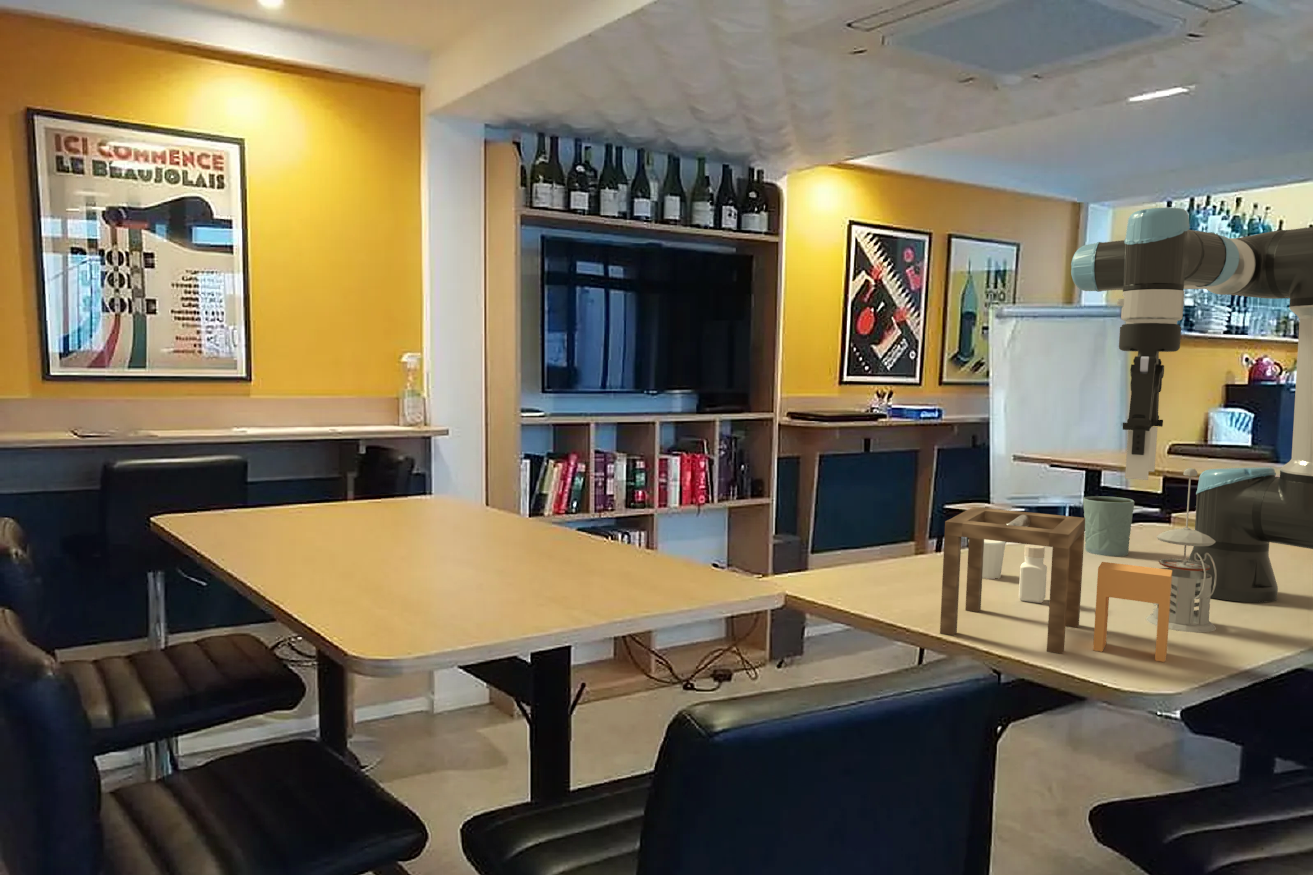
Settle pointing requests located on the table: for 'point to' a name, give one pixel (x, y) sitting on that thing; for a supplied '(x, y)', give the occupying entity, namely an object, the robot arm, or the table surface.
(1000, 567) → the white cup
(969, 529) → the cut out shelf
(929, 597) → the table surface
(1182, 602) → the french press
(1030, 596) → the white pill bottle
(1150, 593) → the orange arch block
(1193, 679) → the table surface
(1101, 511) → the green plant pot
